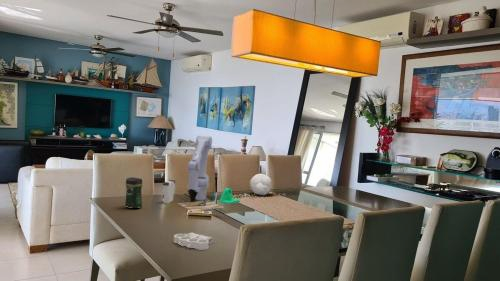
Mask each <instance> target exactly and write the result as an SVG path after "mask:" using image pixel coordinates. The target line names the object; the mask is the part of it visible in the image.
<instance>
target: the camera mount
mask: <svg viewBox="0 0 500 281" xmlns="http://www.w3.org/2000/svg"><path fill="white" fill-rule="evenodd" d="M232 193H233V189H232V188H230V187H229V188H228V187H225V188H224V189H223V193H222V194H221V196H220V199H219V203H223V204H228V205H229V204H235V203H238V204H239V203H240V202H241V200H240V199H237V198H234V196H233V194H232Z"/></svg>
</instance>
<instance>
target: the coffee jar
mask: <svg viewBox="0 0 500 281" xmlns="http://www.w3.org/2000/svg"><path fill="white" fill-rule="evenodd" d="M125 187H126V188H125V189H126V190H125V192H126V193H125V203H124V207H125V206H128V207H132V208H138V207H141V208H143V201H142V200H143V198H142V195H143V194H142V187H143V179H142V178H139V177H127V178H126V180H125Z"/></svg>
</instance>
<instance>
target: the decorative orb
mask: <svg viewBox="0 0 500 281" xmlns="http://www.w3.org/2000/svg"><path fill="white" fill-rule="evenodd" d="M249 187H250V189H251V191H252V192H253V193H254V194H256V195H259V196H265V195H267V194H268V193H270V191H271V188H272V179H271V177H270V176H268V175H266V174H264V173H257V174H255V175H254V176H252V178H251V179H250V181H249Z"/></svg>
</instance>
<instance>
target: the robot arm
mask: <svg viewBox="0 0 500 281" xmlns="http://www.w3.org/2000/svg"><path fill="white" fill-rule="evenodd" d="M195 143H196V149H195V152H194V153H192V157H191V159H190V161H188V162H187V163H188V164H187V171H188V184H187V185H186V189H188V190H187V193H188V196H189V199H190V202H195V201H203V199H204V198H207V189H208V188H209V185H210V176H209V175H208V174H207V167H208V166H207V164H208V157H209V156H208V155H209V151H210V150H211V149H212V144H213V138H212V136H208V135H207V136H206V135H204V136H203V135H197V136H196V139H195Z"/></svg>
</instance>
